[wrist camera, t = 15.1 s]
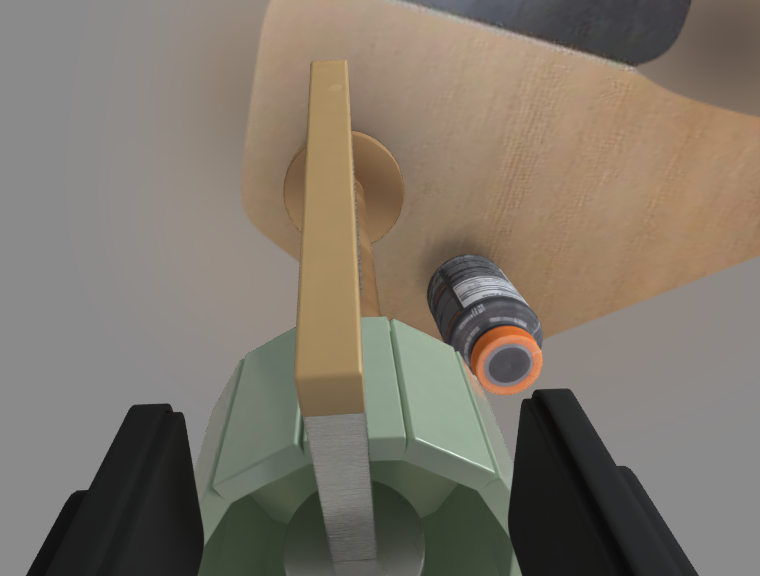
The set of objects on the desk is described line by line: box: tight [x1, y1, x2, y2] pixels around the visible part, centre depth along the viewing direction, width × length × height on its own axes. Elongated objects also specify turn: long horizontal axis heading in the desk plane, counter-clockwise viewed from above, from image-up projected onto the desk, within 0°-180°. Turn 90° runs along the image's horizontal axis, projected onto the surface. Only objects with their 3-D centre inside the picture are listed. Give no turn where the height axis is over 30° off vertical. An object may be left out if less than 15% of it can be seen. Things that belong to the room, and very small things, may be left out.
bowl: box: [194, 317, 522, 576], centre depth 16 cm, size 8×8×5 cm
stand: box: [284, 131, 404, 317], centre depth 30 cm, size 8×8×26 cm
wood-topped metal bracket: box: [282, 60, 427, 576], centre depth 15 cm, size 12×3×8 cm
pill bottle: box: [427, 254, 543, 395], centre depth 40 cm, size 6×6×11 cm
